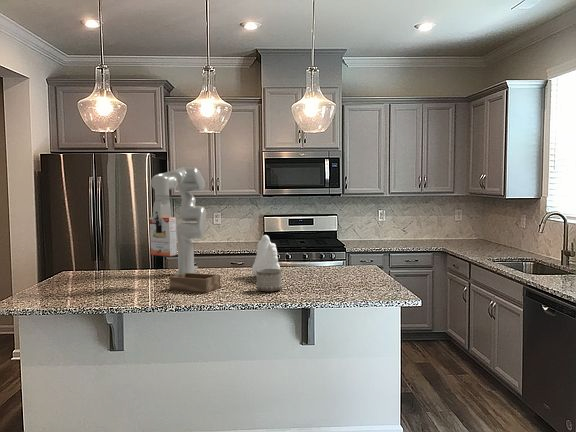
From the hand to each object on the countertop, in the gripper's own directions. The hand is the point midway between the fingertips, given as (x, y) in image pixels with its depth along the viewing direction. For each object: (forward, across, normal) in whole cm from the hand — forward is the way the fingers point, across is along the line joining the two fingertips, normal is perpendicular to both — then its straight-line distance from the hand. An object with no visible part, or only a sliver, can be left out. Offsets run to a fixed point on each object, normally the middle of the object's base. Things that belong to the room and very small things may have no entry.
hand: (163, 232), depth 276 cm
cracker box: (+13, 0, 0) cm, 13 cm away
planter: (+30, -10, +58) cm, 66 cm away
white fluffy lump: (+30, -39, +42) cm, 65 cm away
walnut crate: (+30, +1, +21) cm, 36 cm away
